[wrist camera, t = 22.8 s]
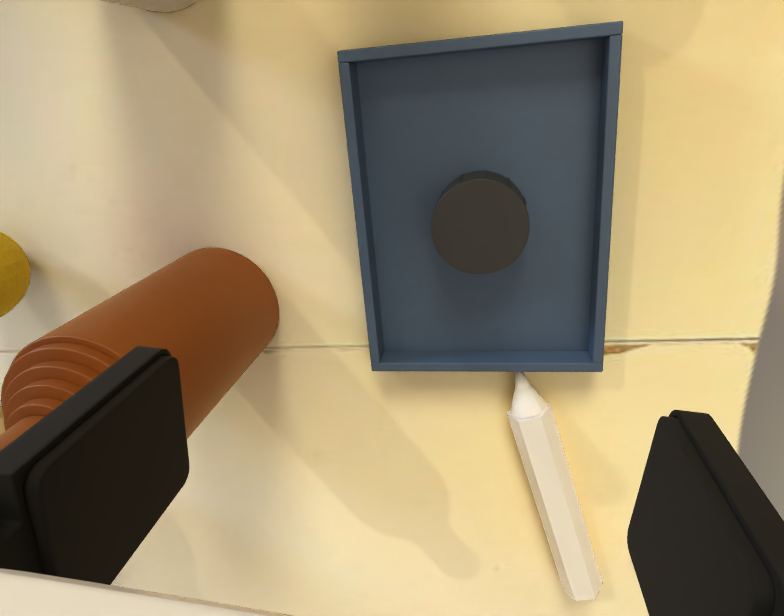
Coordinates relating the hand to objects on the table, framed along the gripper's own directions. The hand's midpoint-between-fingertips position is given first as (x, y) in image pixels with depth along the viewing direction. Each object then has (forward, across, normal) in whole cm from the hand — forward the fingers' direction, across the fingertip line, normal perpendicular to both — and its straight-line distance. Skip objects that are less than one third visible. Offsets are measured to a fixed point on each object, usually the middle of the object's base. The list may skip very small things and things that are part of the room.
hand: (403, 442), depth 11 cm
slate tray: (+20, -1, 0) cm, 20 cm away
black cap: (+17, -1, 0) cm, 17 cm away
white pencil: (+20, -7, +15) cm, 26 cm away
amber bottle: (+20, +13, +6) cm, 24 cm away
